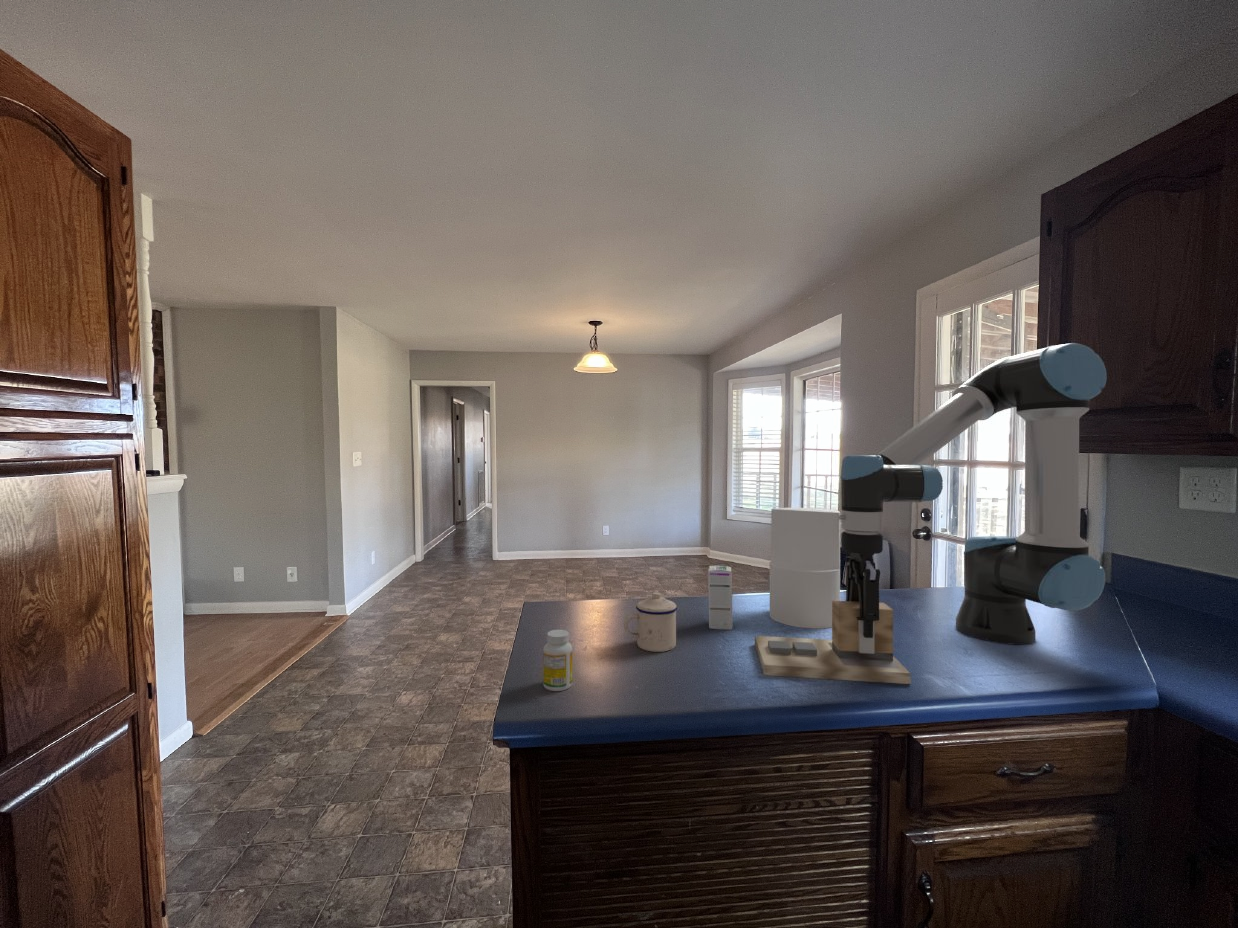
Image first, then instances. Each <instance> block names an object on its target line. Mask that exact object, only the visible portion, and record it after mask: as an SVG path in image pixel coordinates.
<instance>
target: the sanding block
mask: <svg viewBox="0 0 1238 928" xmlns="http://www.w3.org/2000/svg"><path fill="white" fill-rule="evenodd" d="M857 617H860V604H859V602H855V601H846V600H840V601H832V627H831V634H832V635H831V640H832V649H833V651H834V652H835V653H836V655H837V656H838V657H839V658H848V659H866V660H884V661H893V656H894V609H893V608H891V606H889V605H888V604H886V603H885V602H880V601H879V621H874V654H870V653H859V652H858V633H859V620H857Z"/></svg>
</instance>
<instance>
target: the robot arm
mask: <svg viewBox="0 0 1238 928" xmlns="http://www.w3.org/2000/svg"><path fill="white" fill-rule="evenodd" d="M1107 375H1108V374H1107V369H1106V366H1105V363H1104V361H1103V360H1102V358H1101V357H1100V355H1099V354H1098V353H1096V352H1095V350H1094V349H1092V348H1091V347H1089V346H1087V345H1084V344H1080V343H1075V342H1071V343H1065V344H1058V345H1049V346H1047V347H1044V348H1039V349H1035V350H1031V351H1028V352H1024V353H1019V354H1014V355H1010V356H1007V357H1003V358H1001V359H998V360H996V361H994V362H993V363H991V364H990V365H988V366H986V367H984V368H983V369H982V370H980V371H979V372H977V373H976V374H974V375H973V376H971V377H970V378H969V379H968V380H966V381H965V382H964V383H962V384H961V385H959V386H958V387H957V388H955V390H954V391H953V394H952V396H953V397H951V398H949V400H947V401H946V402H944V403H942V404H941V406H939V407H938V408H936V409H935V410H934V411H932V412H931V413H930V414H929V415H927V416H926V417H925V418H923V419H922V420H920V421H919V422H918V423H916V424H915V425H914V426H912V427H911V428H910V429H909V430H907V431H906V432H904V433H903V434H902V435H901V436H899V437H898V438H896V439H895V440H894V441H893V442H891V443H890V444H889V445H888V446H886V447H885V448H883V449H882V450H881V451H879V452H878V453H877V454H875V455H874V454H873V455H869V454H867V455H866V454H863V455H861V454H857V455H855V454H854V455H850V454H849V455H846V456H844V457H843V458H842V461H841V467H840V468H841V469H840V470H841V473H840V486H841V487H840V489H841V491H840V495H841V496H840V497H841V501H840V502H841V514H840V515H839V519H840V521H841V529H842V530H843V531H842V532H840V549H842V550H843V551H844V552H848V553H850V555H849V556H845V566H846V567H845V569H846V570H845V573H846V577H845V578H846V579H845V589H846V590H845V595H846V596H845V601H855V602H859V604H860V617H857V620H859V633H858V652H859V653H870V654H874V621H879V602H880V577H881V570H880V568H879V569H878V568H877V569H876V563H875V562H874V555H875V554H881V553H882V552H883V551H884V541H883V538H884V536H883V535H882V533H881V532H883V531H884V511H883V509H884V503H889V502H890V503H891V502H895V503H896V502H897V503H902V502H903V503H904V502H905V503H906V502H907V503H908V502H911V503H912V502H915V503H923V502H932V501H934V500H937V498H939V497H940V495H941V493H942V491H943V476H942V473H941V472H940V471H939V469H938V468H936V467H934V466H933V465H929V464H922V463H923V462H925V461H926V460H928V459H929V458H930V457H931V456H933V455H935V454H936V453H937V452H938V451H939V450H941V449H942V448H944V447H945V446H946V445H948V444H949V443H950V442H951V441H953V440H954V439H956V438H957V437H959V436H960V435H961V434H962V433H963V432H965V431H966V430H967V429H969V428H970V427H971V426H973V425H974V424H976V423H977V422H978V421H986V420H988V419H990V418H991V417H993V416H994V415H996V414H997V413H1000V412H1003V411H1004V410H1005V411H1006V410H1009V409H1012V408H1015V412H1016V415H1018V416H1019V417H1020V418H1021V419H1022V420H1024V422H1025V424H1024V431H1025V432H1024V435H1025V436H1024V442H1025V443H1024V532H1023V533H1021V534H1020V535H1018V536H1005V535H1004V536H999V535H998V536H995V535H994V536H991V535H990V536H970V537H969V538H967V539H966V540H965V542H964V551H963V565H964V567H963V568H964V569H963V571H964V572H963V574H964V576H963V577H964V583H963V584H964V597H963V600H962V603H961V605H960V607H959V609H958V612H957V615H956V616H955V628H956V630H957V631H959V632H961V633H963V634H965V635H967V636H970V637H972V638H976V639H978V640H979V639H980V640H984V641H989V642H993V643H1000V644H1007V645H1008V644H1009V645H1027V644H1032V643H1035V642H1036V629H1035V626H1034V623H1033V621H1032V618H1031V616H1030V612H1029V610H1028V608H1027V603H1026V600H1027V601H1030V602H1034V603H1038V604H1041V605H1044V606H1045V607H1048V608H1051V609H1059V610H1061V611H1062V610H1063V611H1066V612H1067V611H1069V612H1076V611H1080V610H1084V609H1086V608H1088V607H1090V606H1091V605H1092V604H1093V603H1094V602H1095V601H1097V600H1099V598H1100V596H1101V595H1102V593H1103V590H1105V589H1104V588H1105V585H1106V571H1105V569H1104V567H1103V566H1101V562H1099V561H1098V559H1095V558H1094V557H1093V556H1090V555H1089V554H1090V553H1089V551H1090V546H1089V543H1088V542H1086V540H1084V539H1083V538H1082V537H1081V536H1080V534H1079V530H1080V529H1079V528H1080V527H1079V526H1080V525H1079V522H1080V520H1079V519H1080V518H1079V515H1080V511H1079V507H1080V505H1079V504H1080V501H1079V499H1080V498H1079V497H1080V496H1079V494H1080V487H1079V486H1080V485H1079V484H1080V418H1081V417H1082V416H1083V415H1086V413H1087V412H1089V411H1090V400H1092V399H1093V398H1095V397H1097V396H1098V395H1100V394H1101V392H1102V390H1103V389H1104V388H1105V387H1106V383H1107V378H1108V377H1107Z"/></svg>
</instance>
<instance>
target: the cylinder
mask: <svg viewBox="0 0 1238 928" xmlns="http://www.w3.org/2000/svg"><path fill="white" fill-rule="evenodd" d="M770 512H771V513H770V514H771V516H770V518H771V521H770V523H771V527H770V528H771V531H770V534H771V535H770V537H771V539H770V541H771V547H770V548H771V556H770V557H771V561H769V617H770V619H772V620H774V621H776V622H778V623H781V624H783V625H787V626H791V627H795V628H803V629H813V630H814V629H828V628H829V629H830V628H832V601H841V520H840V519H839V515H841V511H839V510H835V509H827V508H818V507H817V508H813V507H776V508H771V509H770Z"/></svg>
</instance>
